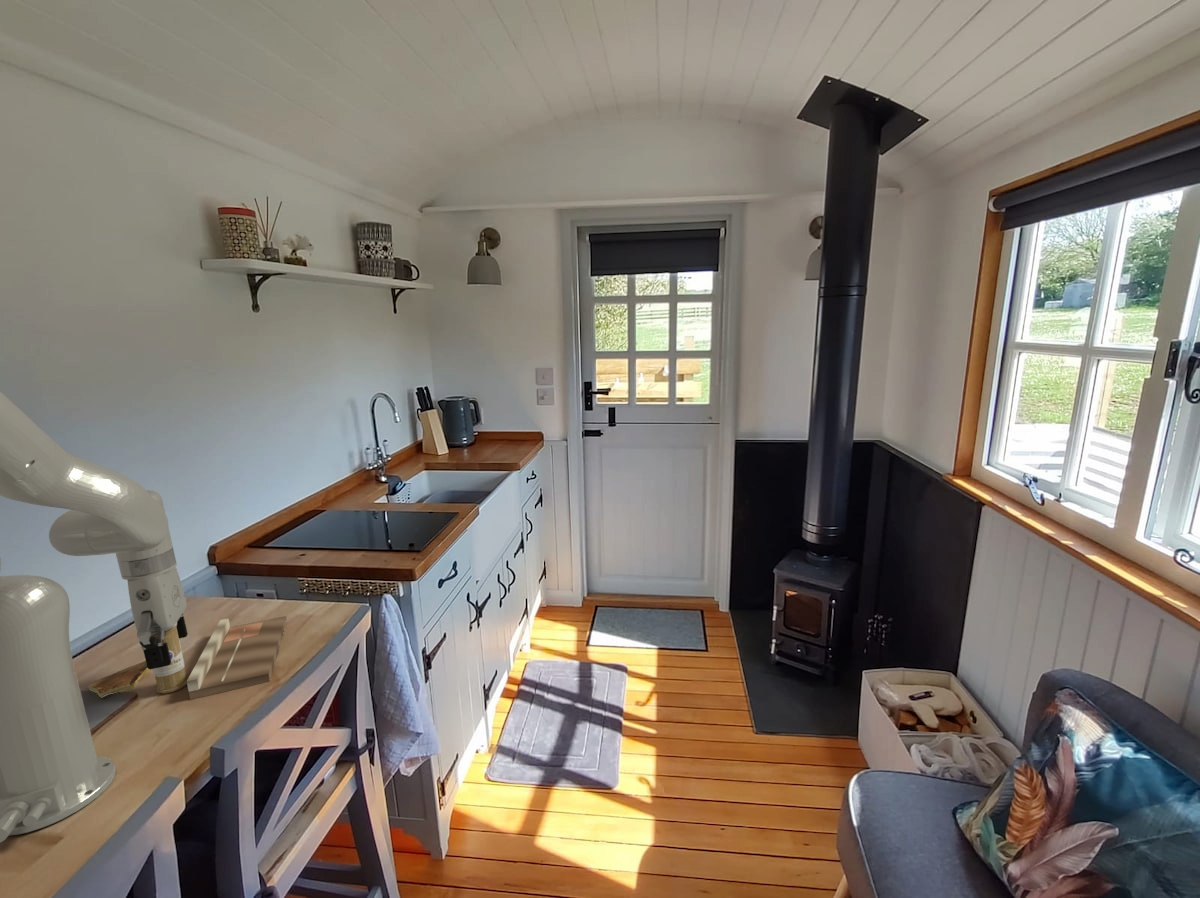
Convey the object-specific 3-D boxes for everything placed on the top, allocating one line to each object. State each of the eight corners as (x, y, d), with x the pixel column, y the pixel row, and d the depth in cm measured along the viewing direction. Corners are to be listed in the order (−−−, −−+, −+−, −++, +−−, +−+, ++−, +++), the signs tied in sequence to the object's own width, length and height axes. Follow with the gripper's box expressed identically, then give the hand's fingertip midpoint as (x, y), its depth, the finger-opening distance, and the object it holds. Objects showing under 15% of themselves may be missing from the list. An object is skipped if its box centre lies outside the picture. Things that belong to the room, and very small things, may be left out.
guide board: (269, 681, 101) (266, 663, 100) (190, 699, 96) (186, 681, 96) (287, 622, 123) (284, 607, 122) (223, 635, 118) (220, 619, 118)
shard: (159, 661, 110) (158, 653, 110) (176, 672, 106) (175, 663, 106) (88, 691, 101) (86, 682, 101) (104, 705, 97) (102, 695, 97)
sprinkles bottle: (162, 697, 97) (147, 626, 95) (153, 689, 100) (138, 619, 97) (193, 684, 101) (179, 615, 98) (183, 676, 104) (169, 609, 101)
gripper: (157, 578, 90) (179, 672, 93) (188, 541, 105) (206, 624, 109) (99, 588, 87) (124, 685, 91) (139, 549, 103) (159, 633, 106)
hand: (169, 651), depth 100 cm, fingers open, 9 cm apart
